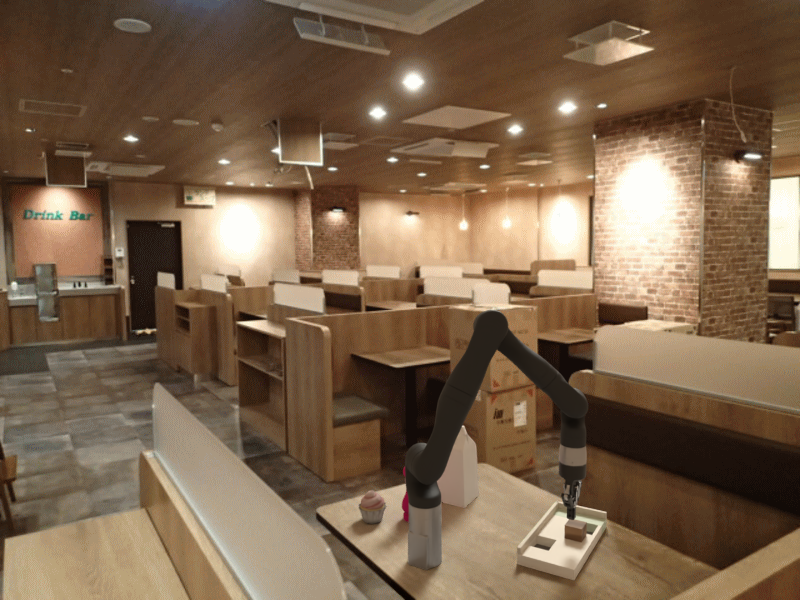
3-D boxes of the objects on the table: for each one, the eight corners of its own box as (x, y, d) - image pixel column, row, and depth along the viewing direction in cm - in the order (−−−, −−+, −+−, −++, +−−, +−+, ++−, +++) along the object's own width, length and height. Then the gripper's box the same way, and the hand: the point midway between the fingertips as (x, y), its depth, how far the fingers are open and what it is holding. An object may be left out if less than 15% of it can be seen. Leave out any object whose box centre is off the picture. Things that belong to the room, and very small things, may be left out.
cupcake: (391, 523, 199) (390, 493, 198) (363, 528, 196) (362, 498, 194) (381, 510, 208) (380, 482, 206) (354, 516, 204) (353, 486, 203)
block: (581, 542, 179) (581, 529, 178) (564, 538, 181) (564, 525, 181) (586, 535, 183) (586, 522, 183) (569, 531, 186) (569, 518, 185)
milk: (479, 495, 218) (479, 423, 215) (464, 508, 209) (464, 432, 206) (448, 488, 225) (448, 418, 222) (433, 500, 215) (432, 427, 212)
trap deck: (574, 580, 165) (574, 562, 165) (517, 564, 174) (517, 547, 173) (606, 527, 194) (606, 512, 193) (555, 515, 202) (556, 500, 202)
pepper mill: (415, 526, 197) (414, 465, 194) (397, 519, 201) (396, 460, 199) (428, 517, 202) (427, 458, 200) (410, 511, 207) (409, 453, 204)
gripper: (579, 470, 168) (577, 531, 170) (592, 454, 179) (590, 512, 181) (552, 465, 172) (551, 524, 174) (566, 450, 183) (565, 506, 185)
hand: (571, 518), depth 178 cm, fingers closed
